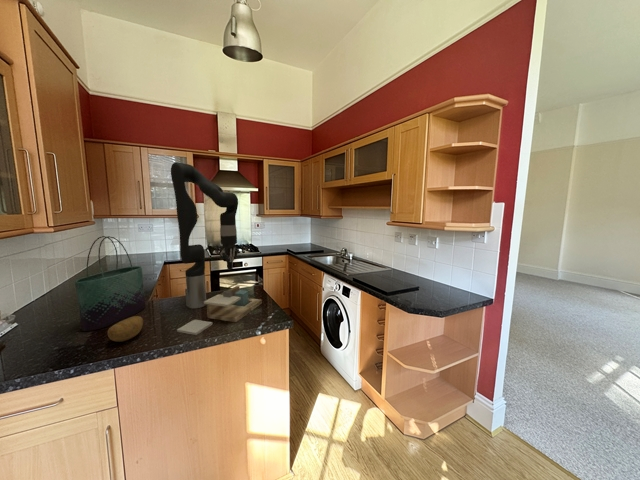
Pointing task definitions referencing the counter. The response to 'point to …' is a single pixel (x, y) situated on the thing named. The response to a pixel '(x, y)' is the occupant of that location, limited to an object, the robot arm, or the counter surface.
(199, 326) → the mat
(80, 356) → the counter surface
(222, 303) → the cover
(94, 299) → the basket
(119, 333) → the potato
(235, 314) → the puzzle board
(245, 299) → the block
